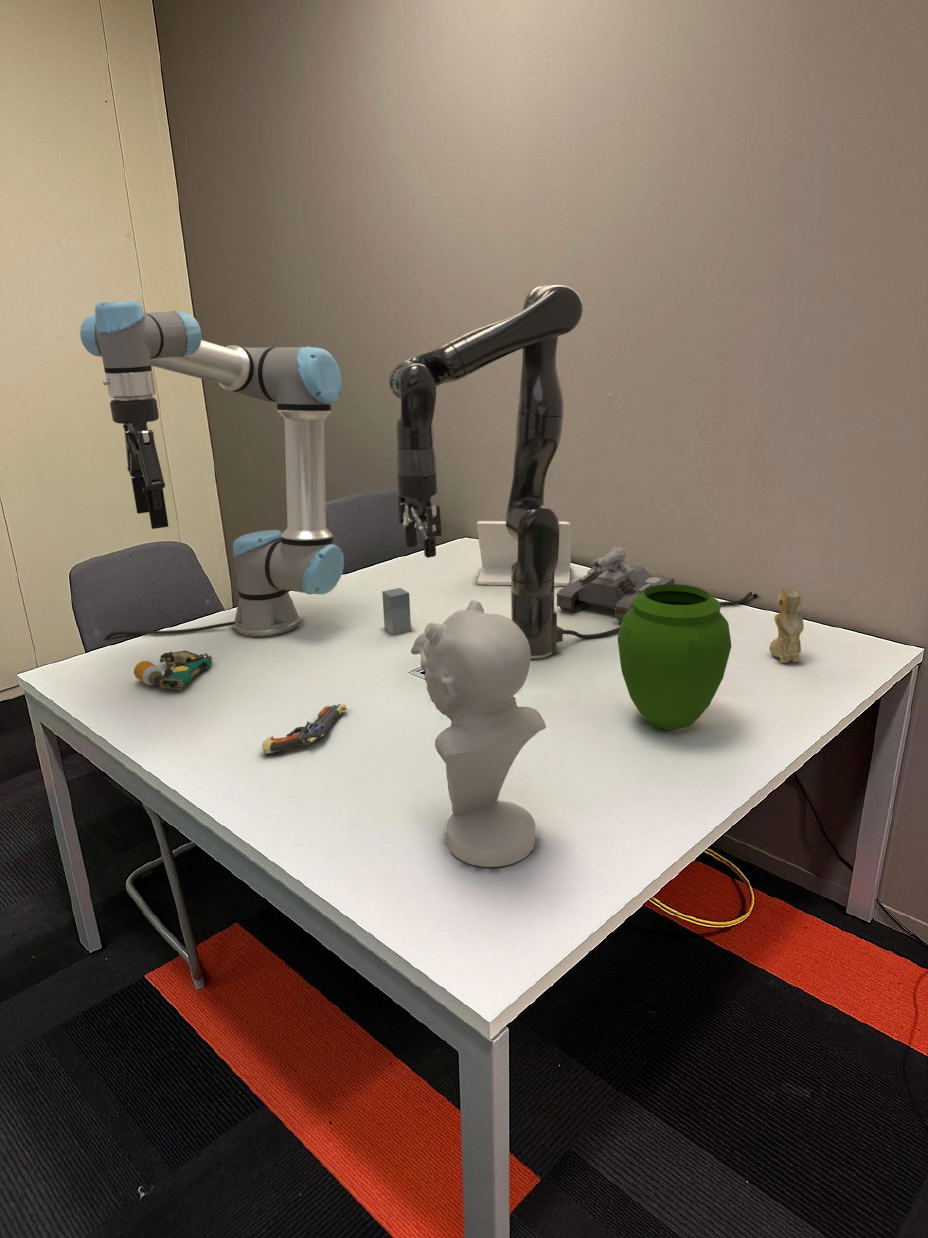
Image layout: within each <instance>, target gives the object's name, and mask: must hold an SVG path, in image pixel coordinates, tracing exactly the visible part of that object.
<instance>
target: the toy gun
mask: <svg viewBox="0 0 928 1238" xmlns="http://www.w3.org/2000/svg"><path fill="white" fill-rule="evenodd" d="M347 709H348V708H347V704H340V703H338V704H337V705H336V704H332V705H326V706H324V707H323V708H322V709H321V710H320V711H319V712H318V714H317V719H315V721H312V722H310V721H306V724H305V726H298V727H295V728H294V729H293V730H291V732H289V733H287V734H286V736H284V737H278V738H274V736H273V735H270V736H268V737H267V738H266V739H265V740H263V742H262V751H263V754H265V755H267V754H272V753H278V752H281V751H284V750H287V749H291V748H295V747H298V746H300V745H304V744H308V743H310V744H311V743H313V742H315V741H316V740H318V739H319V738H322V737H323V736H324V735H325V734H326V733H327V732H328V730H329V729H330V727H331V725H332V724H333V722H334V721H335V720H336V719H337V718H338V717H339V716H341V714H342V713H343V712H346V711H347Z"/></svg>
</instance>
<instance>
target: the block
mask: <svg viewBox="0 0 928 1238" xmlns="http://www.w3.org/2000/svg"><path fill="white" fill-rule="evenodd" d="M381 595H382V596H381V597H382V609H383V611H382V612H383V624H384V625H383V626H384V630H385V631H386V632H387V633H389V634H390V635H392V636H395V635H401V634H404V633H408V632H412V624H411V623H412V621H411V601H410V592H409V591H407V590H405V589H403V588H402V587H397V588H392V589H388V590H387V589H386V590H382V591H381Z"/></svg>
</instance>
